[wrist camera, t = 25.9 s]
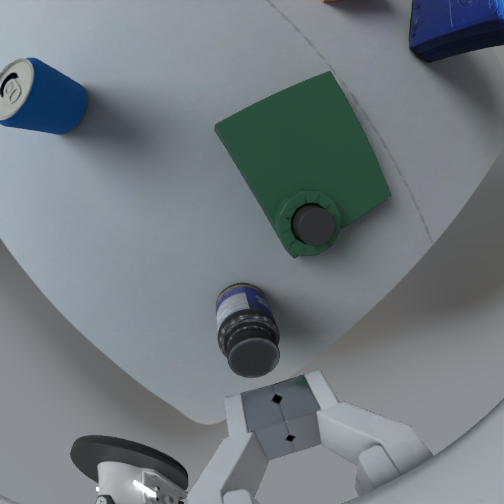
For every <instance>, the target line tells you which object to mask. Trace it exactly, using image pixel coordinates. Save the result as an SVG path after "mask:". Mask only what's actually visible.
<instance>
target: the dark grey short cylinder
mask: <svg viewBox="0 0 504 504" xmlns="http://www.w3.org/2000/svg"><path fill="white" fill-rule="evenodd" d="M293 229H294V232H295V234H296V235H297V236H298V237H299V238H300V239H301V240H303V241H304V242H305V243H307V244H309V245H312V246H319V245H322V244H324V243H326V242H327V241H328V240H329V239H330V238H331V236H332V234H333V232H334V220H333V217H332V216H331V214H330V213H329V212H328V211H327V210H325V209H322V208H319V207H317V206H313V205H308V206H304V207H302V208H301V209H300V210H298V211H297V213H296V214H295V216H294V219H293Z"/></svg>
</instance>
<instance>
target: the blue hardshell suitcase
mask: <svg viewBox="0 0 504 504" xmlns="http://www.w3.org/2000/svg"><path fill="white" fill-rule="evenodd" d="M409 42H410V44H409V49H410V50H411V51H412V52H414V53H415V54H416V55H418V56H419V57H421V58H422V59H423V60H424V61H425V62H427V63H430V62H433V61H437V60H441V59H444V58H447V57H451V56H454V55H458V54H462V53H466V52H470V51H475V50H478V49H483V48H488V47H494V46H501V45H504V0H412V13H411V20H410V32H409Z"/></svg>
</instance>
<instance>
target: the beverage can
mask: <svg viewBox="0 0 504 504" xmlns="http://www.w3.org/2000/svg"><path fill="white" fill-rule="evenodd" d="M87 102H88V98H87V93H86V91H85V89H84V87H83V86H82V85H80V84H79V83H77V82H75V81H74V80H72V79H70V78H69V77H67V76H65V75H64V74H62V73H60V72H59V71H57V70H55V69H54V68H52V67H50V66H49V65H47V64H45V63H43V62H42V61H40V60H38V59H36V58H26V59H24V58H21V59H17V60H14V61H13V62H11V63H10V64H8V65H7V66H6V67H5V68H4V69H3V70H2V72H1V73H0V124H1V125H3V126H7V127H15V128H22V129H28V130H35V131H41V132H47V133H52V134H64V133H67V132H69V131H71V130H72V129H73V128H75V127H76V126H77V125H78V123H79V122H80V121H81V119H82V118H83V116H84V114H85V111H86V108H87Z"/></svg>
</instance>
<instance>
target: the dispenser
mask: <svg viewBox="0 0 504 504" xmlns="http://www.w3.org/2000/svg"><path fill="white" fill-rule="evenodd" d="M214 130H215V131H216V133H217V135H218V136H219V138H220V140H221V141H222V143H223V144H224V146H225V148H226V149H227V151H228V153H229V154H230V156H231V157H232V159H233V161H234V162H235V164H236V166H237V167H238V169H239V171H240V172H241V174H242V176H243V177H244V179H245V181H246V182H247V184H248V186H249V187H250V189H251V191H252V192H253V194H254V196H255V198H256V199H257V201H258V203H259V204H260V206H261V208H262V209H263V211H264V213H265V215H266V216H267V218H268V220H269V222H270V223H271V225H272V227H273V228H274V230H275V232H276V234H277V235H278V237H279V239H280V241H281V242H282V244H283V246H284V248H285V249H286V251H287V252H288V253H289V254H290V255H291V256H292V257H293V258H296V257H297V256H299V255H301V256H307V255H318V254H320V253H321V252H323V251H324V250H326V249H328V248H329V247H331V246H332V244H333V242H334V241H335V239H336V237H337V236H338V234H339V231H340V229H342V228H343V227H345V226H346V225H348V224H349V223H351V222H353V221H354V220H356V219H357V218H359V217H360V216H362V215H363V214H365V213H366V212H368V211H369V210H371V209H372V208H374V207H376V206H377V205H379V204H380V203H382V202H383V201H385V200H386V199H388V198H389V197H391V193H390V191H389V188H388V185H387V183H386V180H385V178H384V176H383V173H382V171H381V168H380V166H379V164H378V161H377V159H376V157H375V155H374V152H373V150H372V148H371V146H370V144H369V141H368V139H367V137H366V135H365V133H364V131H363V129H362V127H361V125H360V123H359V121H358V119H357V117H356V115H355V113H354V111H353V110H352V108H351V106H350V104H349V102H348V100H347V99H346V97H345V95H344V93H343V91H342V90H341V88H340V86H339V85H338V83H337V81H336V80H335V78H334V76H333V75H332V73H331V71H328V72H325V73H323V74H320V75H318V76H315V77H313V78H310V79H308V80H305V81H303V82H300V83H298V84H296V85H293V86H291V87H289V88H287V89H284V90H282V91H280V92H278V93H276V94H273V95H271V96H269V97H267V98H265V99H263V100H261V101H259V102H257V103H255V104H253V105H251V106H249V107H247V108H245V109H243V110H241V111H239V112H237V113H235V114H234V115H232V116H230V117H228V118H226V119H224V120H223V121H221V122H219V123H217V124H215V129H214ZM308 205H313V206H317V207H319V208H322V209H325V210H327V211H328V212H329V213H330V214H331V216H332V217H333V220H334V232H333V234H332V236H331V238H330V239H329V240H328V241H327V242H326V243H324V244H322V245H319V246H312V245H309V244H307V243H305V242H304V241H303V240H301V239H300V238H299V237H298V236H297V235H296V234H295V232H294V229H293V219H294V216H295V214H296V213H297V211H298V210H300V209H301V208H302V207H304V206H308Z"/></svg>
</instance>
